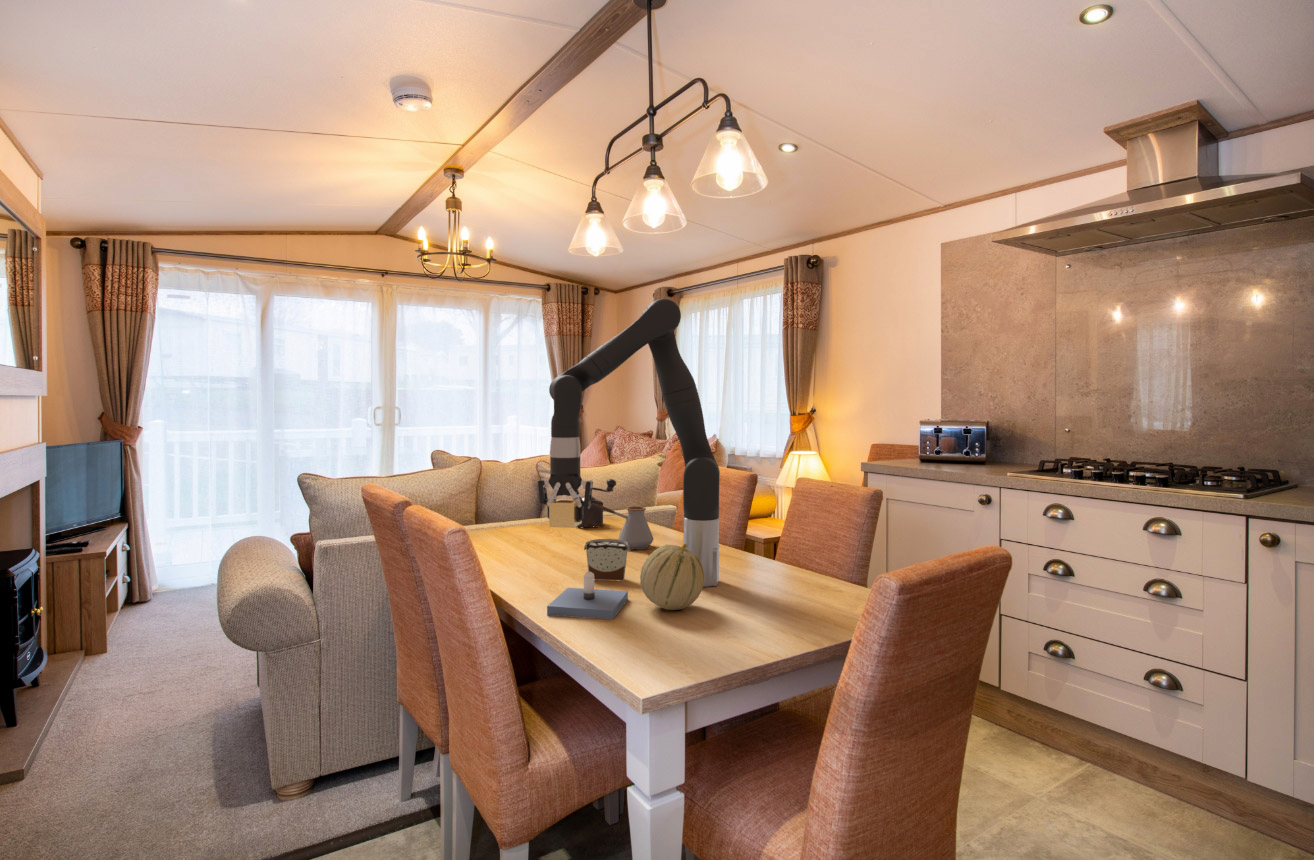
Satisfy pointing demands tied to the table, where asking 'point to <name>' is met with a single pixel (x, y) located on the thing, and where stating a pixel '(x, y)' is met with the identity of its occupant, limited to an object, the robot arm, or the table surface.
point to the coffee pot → (633, 527)
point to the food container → (607, 558)
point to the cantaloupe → (672, 577)
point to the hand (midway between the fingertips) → (565, 521)
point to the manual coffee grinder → (594, 514)
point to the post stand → (588, 601)
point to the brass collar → (563, 514)
